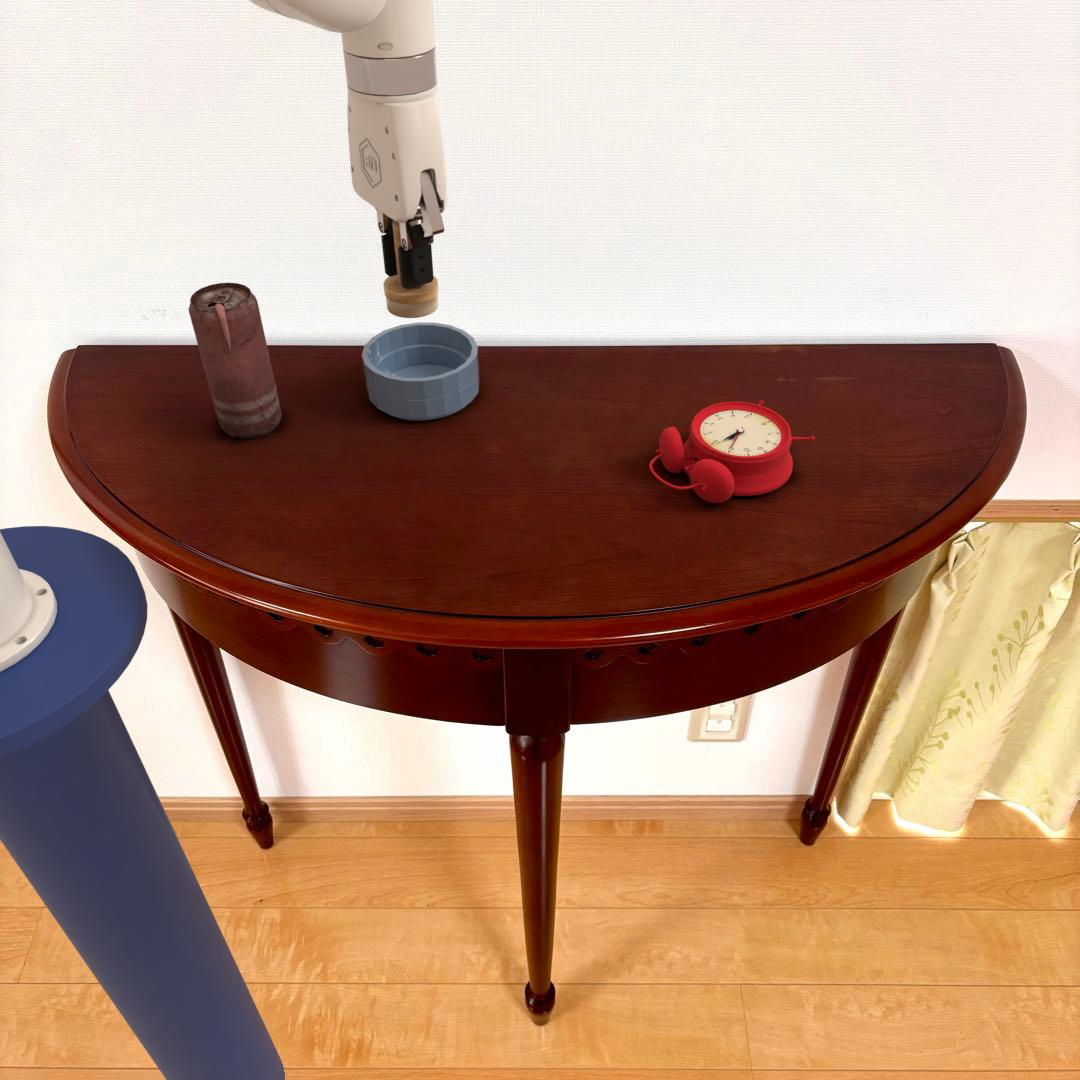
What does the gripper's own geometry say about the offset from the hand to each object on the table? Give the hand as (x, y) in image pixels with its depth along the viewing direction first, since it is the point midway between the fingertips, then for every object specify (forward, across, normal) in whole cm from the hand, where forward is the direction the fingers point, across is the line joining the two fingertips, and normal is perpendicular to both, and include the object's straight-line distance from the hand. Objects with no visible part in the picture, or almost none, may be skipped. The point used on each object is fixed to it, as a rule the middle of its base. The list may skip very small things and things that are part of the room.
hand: (409, 276), depth 92 cm
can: (+14, -5, -16) cm, 22 cm away
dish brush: (+3, 0, 0) cm, 3 cm away
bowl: (+13, 0, +1) cm, 13 cm away
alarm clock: (+13, +28, +17) cm, 35 cm away
